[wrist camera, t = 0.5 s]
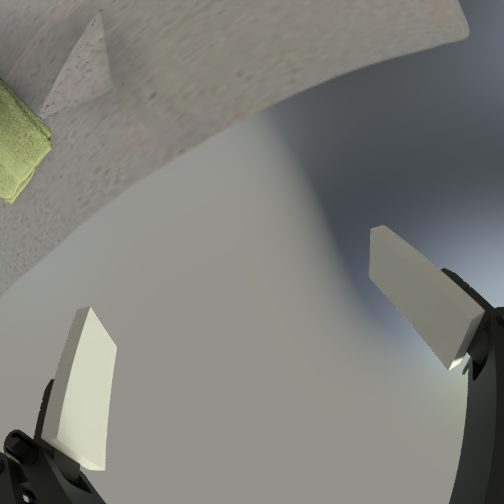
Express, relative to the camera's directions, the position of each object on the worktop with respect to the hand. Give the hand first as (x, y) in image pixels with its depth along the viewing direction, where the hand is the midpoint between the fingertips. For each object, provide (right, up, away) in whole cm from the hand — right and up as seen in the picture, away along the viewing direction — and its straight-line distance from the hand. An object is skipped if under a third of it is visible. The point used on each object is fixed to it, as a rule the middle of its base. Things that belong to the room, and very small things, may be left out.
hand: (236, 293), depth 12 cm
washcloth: (-35, +18, +15) cm, 42 cm away
